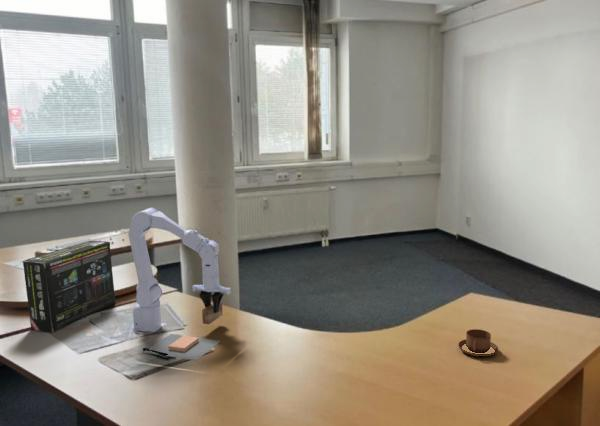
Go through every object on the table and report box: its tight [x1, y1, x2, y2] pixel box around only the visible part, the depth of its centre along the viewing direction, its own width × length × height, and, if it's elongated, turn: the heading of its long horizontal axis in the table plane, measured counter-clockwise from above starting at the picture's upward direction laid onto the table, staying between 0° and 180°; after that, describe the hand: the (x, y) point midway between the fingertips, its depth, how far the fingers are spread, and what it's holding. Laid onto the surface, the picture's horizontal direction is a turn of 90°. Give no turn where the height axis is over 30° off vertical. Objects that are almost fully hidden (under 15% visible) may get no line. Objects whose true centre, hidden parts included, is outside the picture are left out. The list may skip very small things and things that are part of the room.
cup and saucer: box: [458, 328, 499, 358], centre depth 168 cm, size 12×12×6 cm
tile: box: [168, 335, 200, 352], centre depth 176 cm, size 6×1×9 cm
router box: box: [22, 240, 117, 333], centre depth 206 cm, size 36×11×27 cm, turn 160°
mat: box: [142, 333, 221, 361], centre depth 176 cm, size 20×16×1 cm
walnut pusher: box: [201, 301, 224, 325], centre depth 190 cm, size 2×10×5 cm, turn 160°
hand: (212, 311), depth 190 cm, fingers closed on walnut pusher, 2 cm apart
